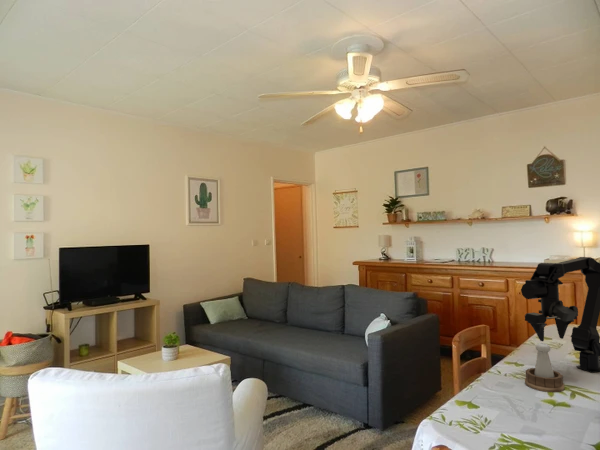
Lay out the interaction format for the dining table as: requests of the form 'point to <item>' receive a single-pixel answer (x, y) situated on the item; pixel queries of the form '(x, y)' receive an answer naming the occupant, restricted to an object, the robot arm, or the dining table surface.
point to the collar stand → (544, 381)
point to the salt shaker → (543, 361)
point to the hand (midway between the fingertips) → (551, 339)
